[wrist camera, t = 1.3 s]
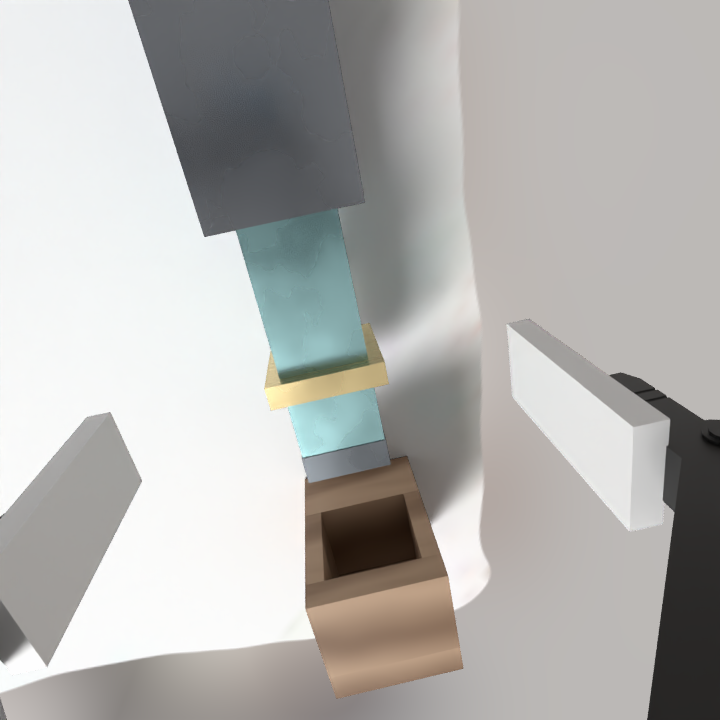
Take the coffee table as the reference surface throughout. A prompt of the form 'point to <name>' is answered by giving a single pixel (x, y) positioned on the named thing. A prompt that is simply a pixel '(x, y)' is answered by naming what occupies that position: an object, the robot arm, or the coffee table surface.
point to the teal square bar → (317, 343)
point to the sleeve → (253, 107)
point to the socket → (376, 581)
